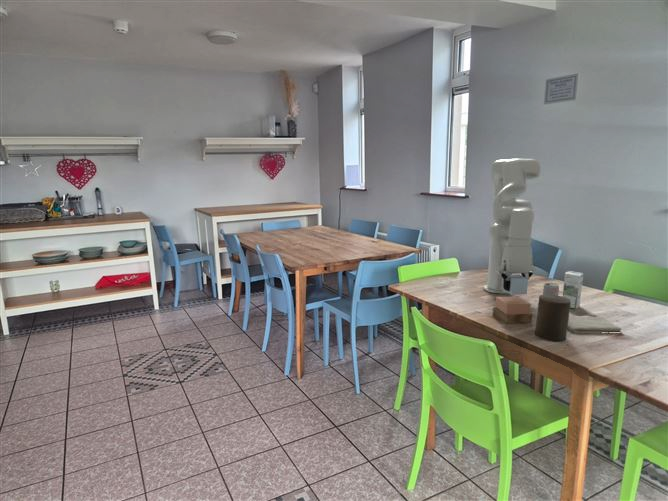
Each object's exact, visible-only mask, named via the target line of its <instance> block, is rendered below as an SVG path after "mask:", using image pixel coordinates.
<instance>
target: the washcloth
mask: <svg viewBox="0 0 668 501" xmlns="http://www.w3.org/2000/svg"><path fill="white" fill-rule="evenodd" d="M569 330H570V331H569ZM567 331H569V332H571V333H573V334H603V333H602V332H608V333H607V334H610V333H609V332H621V331H622V327H620V326H619V325H615V324H614V323H612V322H611V321H610V320H608V319H606V318H604V317H601V316H597V317H596V316H591V315H569V320H568V327H567ZM621 333H622V332H621Z"/></svg>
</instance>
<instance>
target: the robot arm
mask: <svg viewBox="0 0 668 501" xmlns="http://www.w3.org/2000/svg"><path fill="white" fill-rule="evenodd" d="M490 169H491V171H490V172H491V178H492V182H493V185H494V190H495V191H494V199H493V202H492V216H493V222H494V224H492V225H491V226H490V228H489V231H488V233H489V258H488V271H487V284H485V285H484V284H483V290H484V291H486V292H488V293H492V294H501V295H503V294H504V295H505V294H507V295H508V293H507V292H505V291H503V288H504V290H506V291H510V281H509V279H510V277H511V275H513V274H520V275H521V276H524V277H526V278H528V281H529V280H530V278H531V277H532V276H533V275H534V274H535V273H536V272H537V268H536V267H535V266H534V264H533V248H532V246H531V244H532V243H534V239H532V232H533V230H532V229H533V222H534V219H535V212H534V211H533V205H532V203H531V202H530V201H529V200H528V199H516V198H519V197H521V196H523V195H524V194H525V193H526V191H527V187H528V186H527V180H531V181H535V180H537V179H538V178H539V177H540V175H541V170H542V168H541V164H540V162H539V160H538V159H535V158H510V159H498V160H495V161H494V162H493V163H492V165H491V168H490Z"/></svg>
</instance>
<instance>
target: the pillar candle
mask: <svg viewBox="0 0 668 501" xmlns="http://www.w3.org/2000/svg"><path fill="white" fill-rule="evenodd" d="M562 296H563V295H559V294H558V295H549V294H543V293H542V294H540V295H539V296H538V305H537V312H536V321H535V328H534V335H535V336H536V337H537V338H539V339H541V340H544V341H548V342H553V343H560V342H561V343H562V342H565V341H566V340H567V334H568V329H567V327H568V320H569V316H570V312H571V308H570V304H571V300H570V299H569V298H566V297H562Z"/></svg>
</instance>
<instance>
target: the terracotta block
mask: <svg viewBox="0 0 668 501" xmlns="http://www.w3.org/2000/svg"><path fill="white" fill-rule="evenodd" d="M494 303H495V306H494V307H496V308H498V309H499V310H501V311H502V312H503V313H505V314H506V315H511V314H530V313H531V306H532V303H530V302H529V301H528V300H525V299H523V298H522V297H520V295H519V296H518V295H517V296H515V295H514V296H513V295H511V296H495V302H494Z"/></svg>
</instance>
